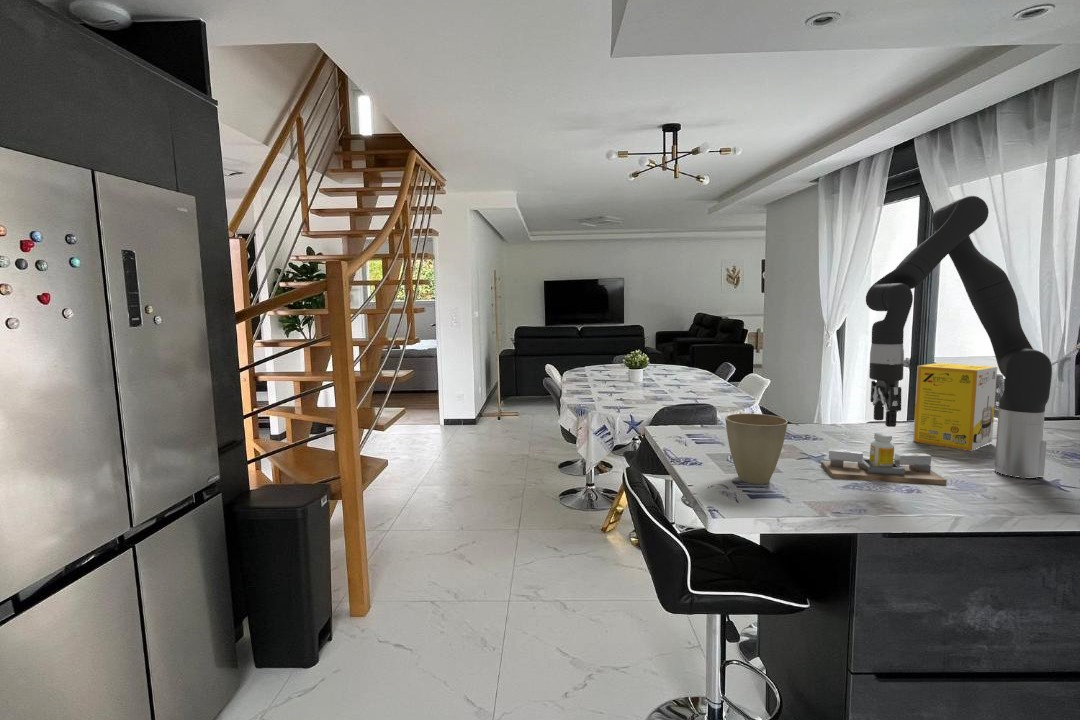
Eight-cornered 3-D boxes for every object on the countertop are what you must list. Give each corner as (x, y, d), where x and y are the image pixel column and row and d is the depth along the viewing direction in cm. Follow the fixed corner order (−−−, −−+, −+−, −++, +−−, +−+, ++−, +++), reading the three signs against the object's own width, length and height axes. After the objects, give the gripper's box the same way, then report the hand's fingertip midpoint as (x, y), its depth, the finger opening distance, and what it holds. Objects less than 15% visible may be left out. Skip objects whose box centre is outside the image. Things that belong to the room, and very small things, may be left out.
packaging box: (934, 435, 197) (939, 362, 194) (991, 444, 183) (997, 366, 181) (913, 441, 188) (917, 365, 185) (971, 451, 174) (977, 370, 172)
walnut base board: (925, 471, 154) (926, 466, 154) (946, 484, 142) (946, 480, 142) (820, 465, 160) (821, 461, 159) (832, 478, 148) (832, 473, 148)
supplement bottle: (864, 469, 151) (867, 433, 151) (875, 466, 154) (877, 431, 153) (886, 474, 147) (888, 437, 146) (896, 471, 150) (899, 435, 149)
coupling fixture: (925, 468, 152) (926, 452, 152) (939, 477, 144) (941, 461, 143) (825, 463, 158) (826, 448, 157) (834, 471, 149) (834, 456, 149)
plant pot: (711, 475, 151) (713, 415, 150) (756, 469, 156) (758, 411, 155) (750, 492, 137) (752, 426, 136) (799, 485, 142) (801, 422, 141)
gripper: (861, 359, 155) (859, 417, 157) (880, 363, 141) (878, 428, 143) (892, 359, 154) (889, 418, 155) (914, 364, 140) (911, 429, 141)
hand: (884, 423), depth 149 cm, fingers open, 8 cm apart
